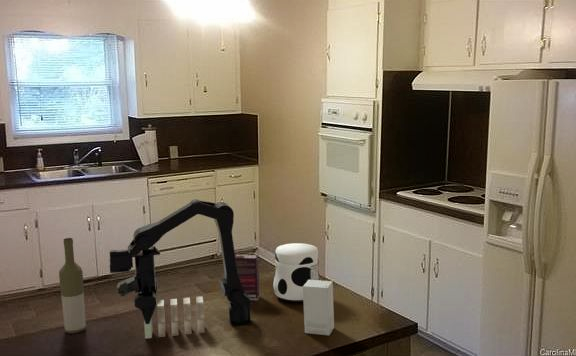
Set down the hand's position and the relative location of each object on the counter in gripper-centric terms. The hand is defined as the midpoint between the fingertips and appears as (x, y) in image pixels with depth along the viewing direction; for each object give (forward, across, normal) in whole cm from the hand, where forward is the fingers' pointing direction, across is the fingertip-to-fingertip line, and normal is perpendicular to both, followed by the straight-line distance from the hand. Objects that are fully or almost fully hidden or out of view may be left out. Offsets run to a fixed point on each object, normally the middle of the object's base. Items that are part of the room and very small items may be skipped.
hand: (148, 317), depth 173 cm
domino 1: (+6, 0, 0) cm, 6 cm away
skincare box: (+6, +10, +52) cm, 53 cm away
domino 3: (+6, 0, +8) cm, 10 cm away
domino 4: (+6, 0, +12) cm, 13 cm away
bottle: (+6, -9, -23) cm, 25 cm away
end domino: (+6, 0, +16) cm, 17 cm away
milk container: (+6, -20, +52) cm, 56 cm away
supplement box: (+6, -23, +34) cm, 41 cm away
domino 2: (+6, 0, +4) cm, 7 cm away
